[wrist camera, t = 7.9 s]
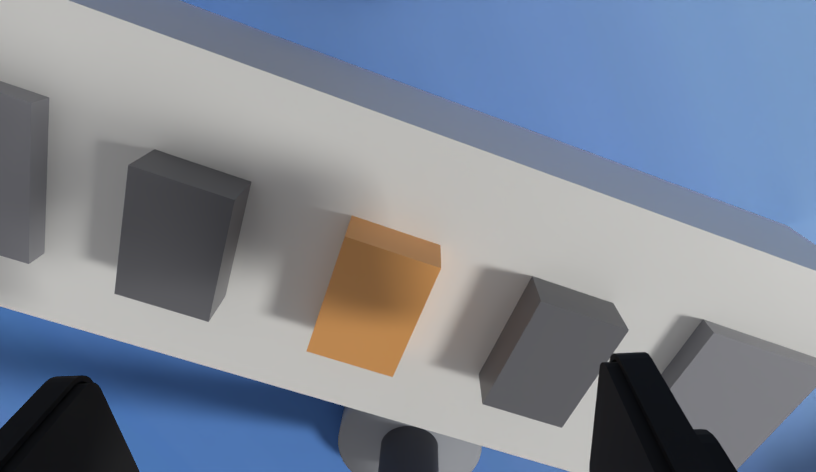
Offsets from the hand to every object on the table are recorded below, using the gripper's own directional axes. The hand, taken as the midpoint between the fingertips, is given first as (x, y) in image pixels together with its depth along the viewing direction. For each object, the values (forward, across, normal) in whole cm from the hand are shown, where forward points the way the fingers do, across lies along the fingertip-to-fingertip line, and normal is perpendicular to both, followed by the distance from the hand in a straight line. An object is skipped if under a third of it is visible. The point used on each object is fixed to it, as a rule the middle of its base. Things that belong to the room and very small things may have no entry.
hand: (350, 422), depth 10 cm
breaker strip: (+10, 0, 0) cm, 10 cm away
